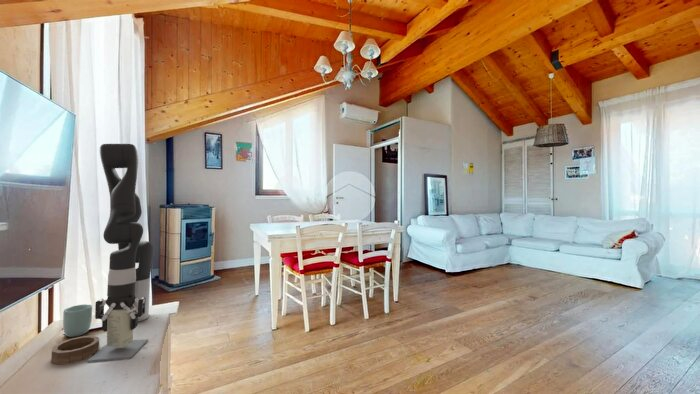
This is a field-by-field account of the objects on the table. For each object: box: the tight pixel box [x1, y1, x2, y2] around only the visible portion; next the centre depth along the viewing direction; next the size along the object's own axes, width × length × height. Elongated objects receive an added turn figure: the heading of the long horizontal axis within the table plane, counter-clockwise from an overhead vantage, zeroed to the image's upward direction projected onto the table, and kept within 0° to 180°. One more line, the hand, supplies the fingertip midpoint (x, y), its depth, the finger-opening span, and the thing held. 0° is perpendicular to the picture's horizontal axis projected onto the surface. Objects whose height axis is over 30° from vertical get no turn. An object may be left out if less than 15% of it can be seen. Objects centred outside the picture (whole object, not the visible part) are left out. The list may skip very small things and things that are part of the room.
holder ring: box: [50, 335, 100, 365], centre depth 95 cm, size 11×11×4 cm
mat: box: [87, 338, 149, 363], centre depth 98 cm, size 12×12×1 cm
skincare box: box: [106, 307, 134, 348], centre depth 98 cm, size 6×4×12 cm
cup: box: [62, 303, 93, 338], centre depth 108 cm, size 8×8×10 cm
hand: (120, 329), depth 98 cm, fingers closed on skincare box, 7 cm apart
